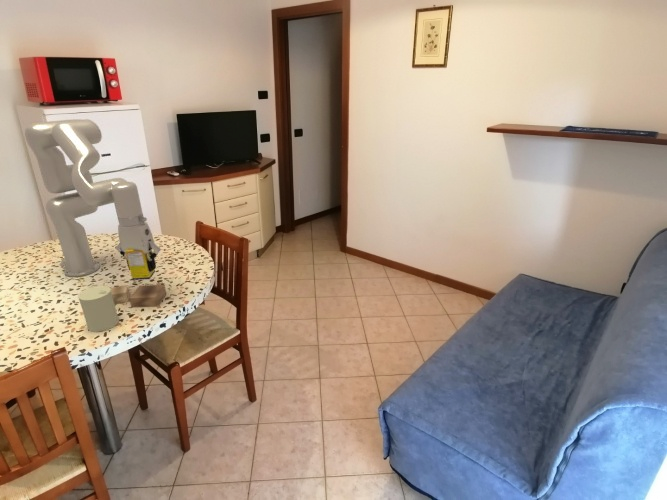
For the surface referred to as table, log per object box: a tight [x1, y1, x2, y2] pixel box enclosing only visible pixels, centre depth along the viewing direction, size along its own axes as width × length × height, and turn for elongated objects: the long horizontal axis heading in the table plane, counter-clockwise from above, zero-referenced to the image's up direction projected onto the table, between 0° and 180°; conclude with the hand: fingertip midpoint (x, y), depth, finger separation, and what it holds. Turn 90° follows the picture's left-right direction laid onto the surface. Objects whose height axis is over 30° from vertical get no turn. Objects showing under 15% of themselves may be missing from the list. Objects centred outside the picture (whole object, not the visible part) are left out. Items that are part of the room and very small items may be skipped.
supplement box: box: [125, 249, 156, 281], centre depth 139 cm, size 6×6×11 cm
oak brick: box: [110, 284, 131, 305], centre depth 146 cm, size 6×6×4 cm
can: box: [77, 285, 120, 333], centre depth 130 cm, size 9×9×12 cm
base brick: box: [129, 284, 167, 308], centre depth 145 cm, size 9×9×4 cm
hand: (142, 268), depth 140 cm, fingers closed on supplement box, 6 cm apart
